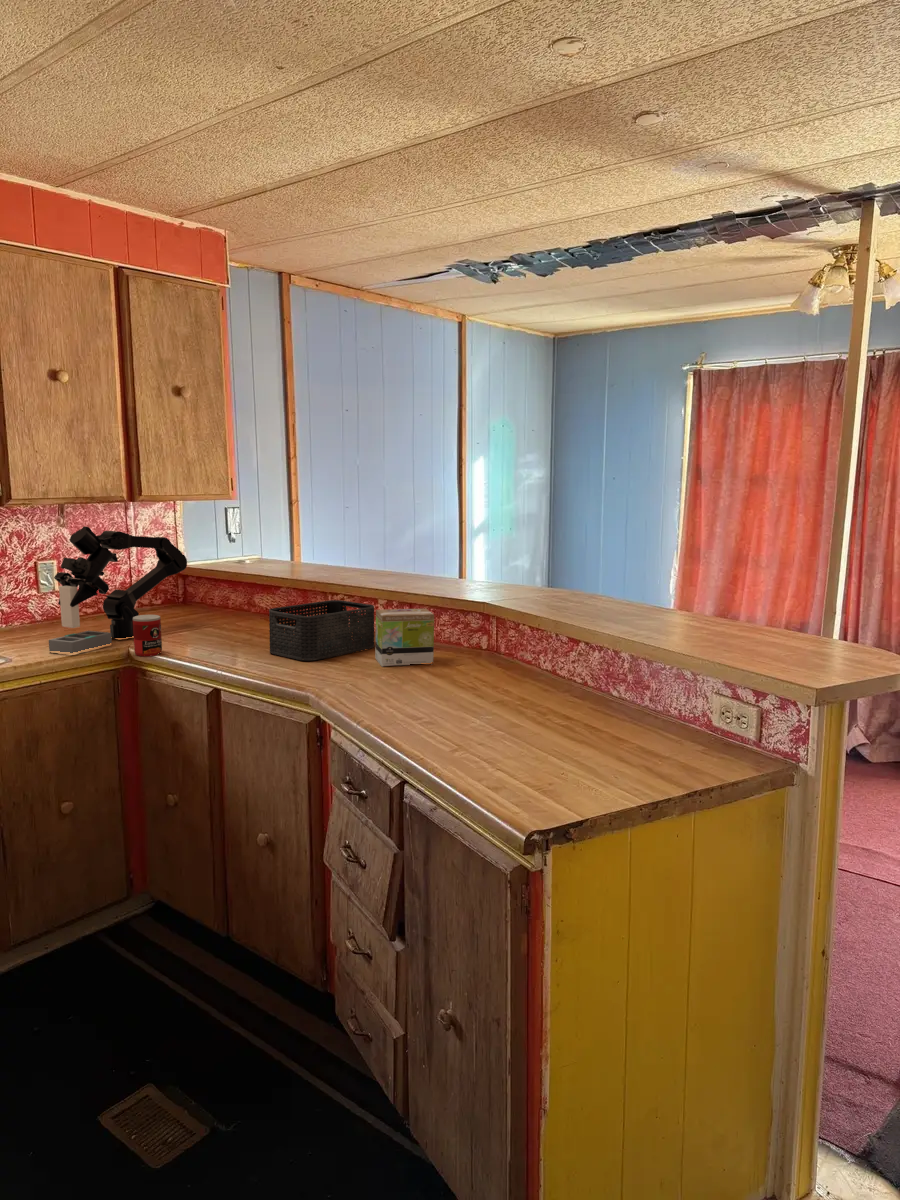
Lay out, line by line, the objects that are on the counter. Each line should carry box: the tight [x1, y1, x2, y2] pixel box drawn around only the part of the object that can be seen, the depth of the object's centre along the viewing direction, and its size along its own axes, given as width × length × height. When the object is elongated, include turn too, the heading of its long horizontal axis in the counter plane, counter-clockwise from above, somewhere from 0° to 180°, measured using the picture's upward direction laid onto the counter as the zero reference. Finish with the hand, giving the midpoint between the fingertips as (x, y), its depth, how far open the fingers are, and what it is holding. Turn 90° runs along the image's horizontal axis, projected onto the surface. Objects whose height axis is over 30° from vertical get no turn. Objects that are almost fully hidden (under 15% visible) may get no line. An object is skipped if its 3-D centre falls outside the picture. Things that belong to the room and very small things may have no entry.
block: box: [58, 585, 81, 629], centre depth 247 cm, size 2×5×12 cm, turn 60°
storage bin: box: [268, 599, 375, 662], centre depth 249 cm, size 29×19×13 cm
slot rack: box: [48, 630, 113, 653], centre depth 249 cm, size 15×9×4 cm, turn 159°
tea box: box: [374, 608, 435, 667], centre depth 235 cm, size 15×10×15 cm, turn 105°
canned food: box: [133, 614, 163, 657], centre depth 243 cm, size 8×8×11 cm
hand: (65, 605), depth 246 cm, fingers closed on block, 5 cm apart
